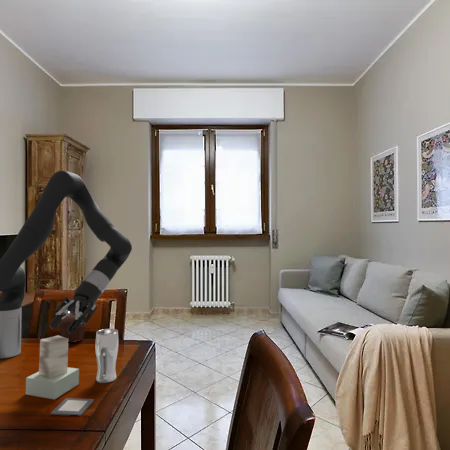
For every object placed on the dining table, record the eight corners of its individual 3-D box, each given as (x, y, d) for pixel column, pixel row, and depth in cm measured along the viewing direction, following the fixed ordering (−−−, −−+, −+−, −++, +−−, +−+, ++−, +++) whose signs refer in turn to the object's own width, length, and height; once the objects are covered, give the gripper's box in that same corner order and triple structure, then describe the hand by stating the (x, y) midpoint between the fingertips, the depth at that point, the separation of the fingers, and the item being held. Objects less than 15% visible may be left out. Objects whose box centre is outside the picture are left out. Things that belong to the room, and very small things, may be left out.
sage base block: (25, 395, 101) (25, 377, 101) (51, 380, 110) (51, 364, 110) (54, 400, 98) (55, 382, 98) (78, 385, 108) (79, 368, 108)
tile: (50, 414, 90) (50, 412, 90) (65, 399, 98) (65, 397, 98) (81, 415, 89) (81, 413, 89) (94, 400, 97) (94, 398, 97)
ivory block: (38, 373, 103) (40, 339, 104) (56, 368, 108) (57, 335, 108) (49, 378, 100) (50, 343, 101) (67, 372, 105) (68, 338, 105)
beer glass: (122, 376, 114) (123, 329, 114) (108, 385, 107) (109, 335, 107) (104, 373, 116) (105, 327, 116) (89, 381, 109) (90, 333, 110)
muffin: (51, 342, 146) (51, 318, 146) (69, 335, 157) (69, 312, 157) (76, 345, 143) (76, 320, 143) (92, 337, 154) (93, 314, 154)
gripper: (71, 278, 118) (37, 319, 108) (100, 282, 110) (67, 327, 100) (85, 291, 122) (53, 332, 112) (113, 296, 115) (82, 340, 105)
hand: (59, 330), depth 106 cm, fingers open, 8 cm apart
